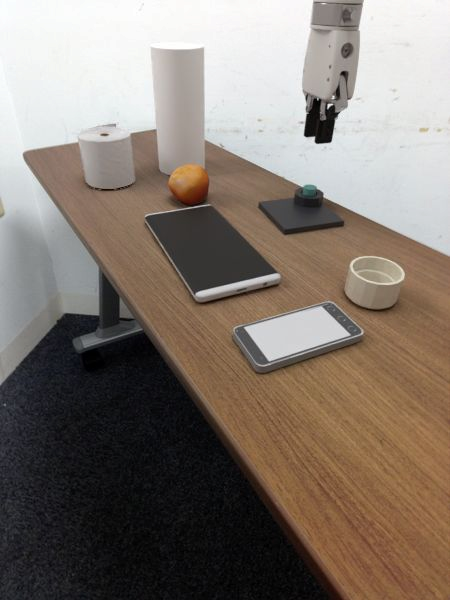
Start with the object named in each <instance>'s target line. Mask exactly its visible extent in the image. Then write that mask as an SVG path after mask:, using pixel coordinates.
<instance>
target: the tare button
mask: <svg viewBox="0 0 450 600" xmlns="http://www.w3.org/2000/svg"><path fill="white" fill-rule="evenodd" d="M302 188H303V192H302V194H303V195H306V196H316V191H317V189H318V187H317V186H316V185H315V184H304V185H303V187H302Z"/></svg>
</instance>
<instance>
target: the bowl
mask: <svg viewBox="0 0 450 600" xmlns="http://www.w3.org/2000/svg"><path fill="white" fill-rule="evenodd" d="M405 276H406V273H405V271H404V269H403V267H401V266H400V265H399V264H398V263H396V261H395V262H394V261H392V260H390V259H388V258H384V257H380V256H376V255H375V256H374V255H364V256H358V257H356V258H354V259H352V260H351V261H350V264H349V266H348V271H347V275H346V279H345V284H344V293H345V296H347V298H348V299H349V300H350V301H351V302H352V303H354V304H356V305H357V306H359V307H361V308H364V309H368V310H384V309H387V308H391V307H392V306H394V305H395V304H396V303H397V301H398V298H399V295H400V292H401V289H402V286H403V283H404V280H405Z"/></svg>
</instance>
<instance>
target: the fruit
mask: <svg viewBox="0 0 450 600" xmlns="http://www.w3.org/2000/svg"><path fill="white" fill-rule="evenodd" d="M209 188H210V180H209V174H208V172H207V170H206V168H205V169H203V168H202V167H201V166H199V165H195V164H186V165H184V166H181V167H179V168H177V169H176V170H175V171H174V172H173V173H172V174H171V175H169V179H168V189H169V191H170V192H171V194H172V196H173V197H174V198H175V199H176V200H178V201H179V202H181V203H184V204H186V205H189V206H196V205H199V204H201V203H203V202H204V201H205V200H208V195H209Z"/></svg>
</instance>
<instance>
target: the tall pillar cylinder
mask: <svg viewBox="0 0 450 600" xmlns="http://www.w3.org/2000/svg"><path fill="white" fill-rule="evenodd" d="M150 59H151V74H152V87H153V100H154V114H155V115H154V116H155V129H156V142H157V143H156V144H157V157H158V169H160V170H159V171H160V172H161V173H162V174H164V175H166V176H171V174H172V173H173V172H174V171H175V170H176V169H177V168H179V167H181V166H184V165H186V164H195V165H199V166H201V167H202V168H203V169H205V170H206V139H205V138H206V136H205V131H206V128H205V125H206V122H205V121H206V120H205V119H206V117H205V114H206V113H205V45H204V44H200V43H195V42H183V41H167V42H156V43H152V44H150Z"/></svg>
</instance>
